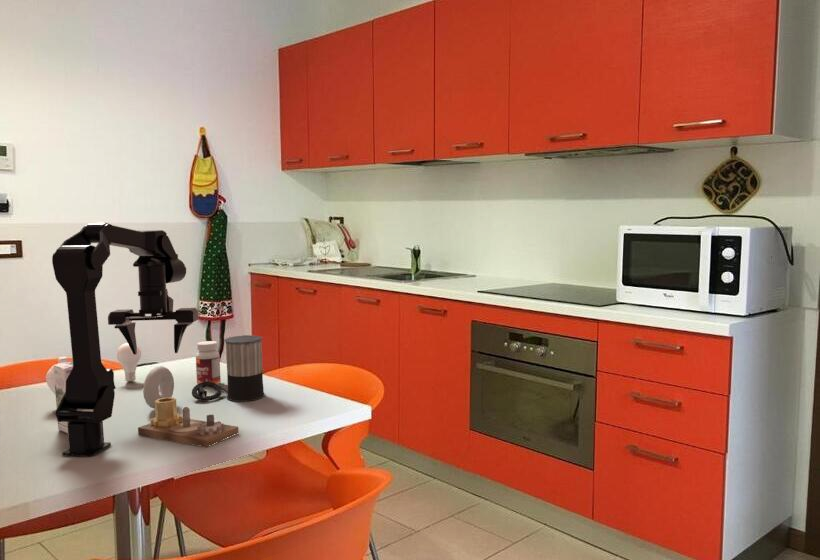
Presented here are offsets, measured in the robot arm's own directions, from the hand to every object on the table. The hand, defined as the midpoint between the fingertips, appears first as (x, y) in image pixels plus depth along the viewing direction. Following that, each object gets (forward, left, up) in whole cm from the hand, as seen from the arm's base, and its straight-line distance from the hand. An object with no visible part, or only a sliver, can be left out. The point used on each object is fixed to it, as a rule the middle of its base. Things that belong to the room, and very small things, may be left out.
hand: (155, 353), depth 156 cm
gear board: (-15, -14, -14) cm, 24 cm away
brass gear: (-13, -8, -12) cm, 19 cm away
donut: (+3, +1, -14) cm, 15 cm away
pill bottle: (+26, -1, -14) cm, 30 cm away
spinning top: (+3, +25, -14) cm, 29 cm away
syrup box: (-14, +11, -14) cm, 23 cm away
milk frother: (+13, -12, -14) cm, 23 cm away
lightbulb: (+27, +22, -14) cm, 38 cm away
